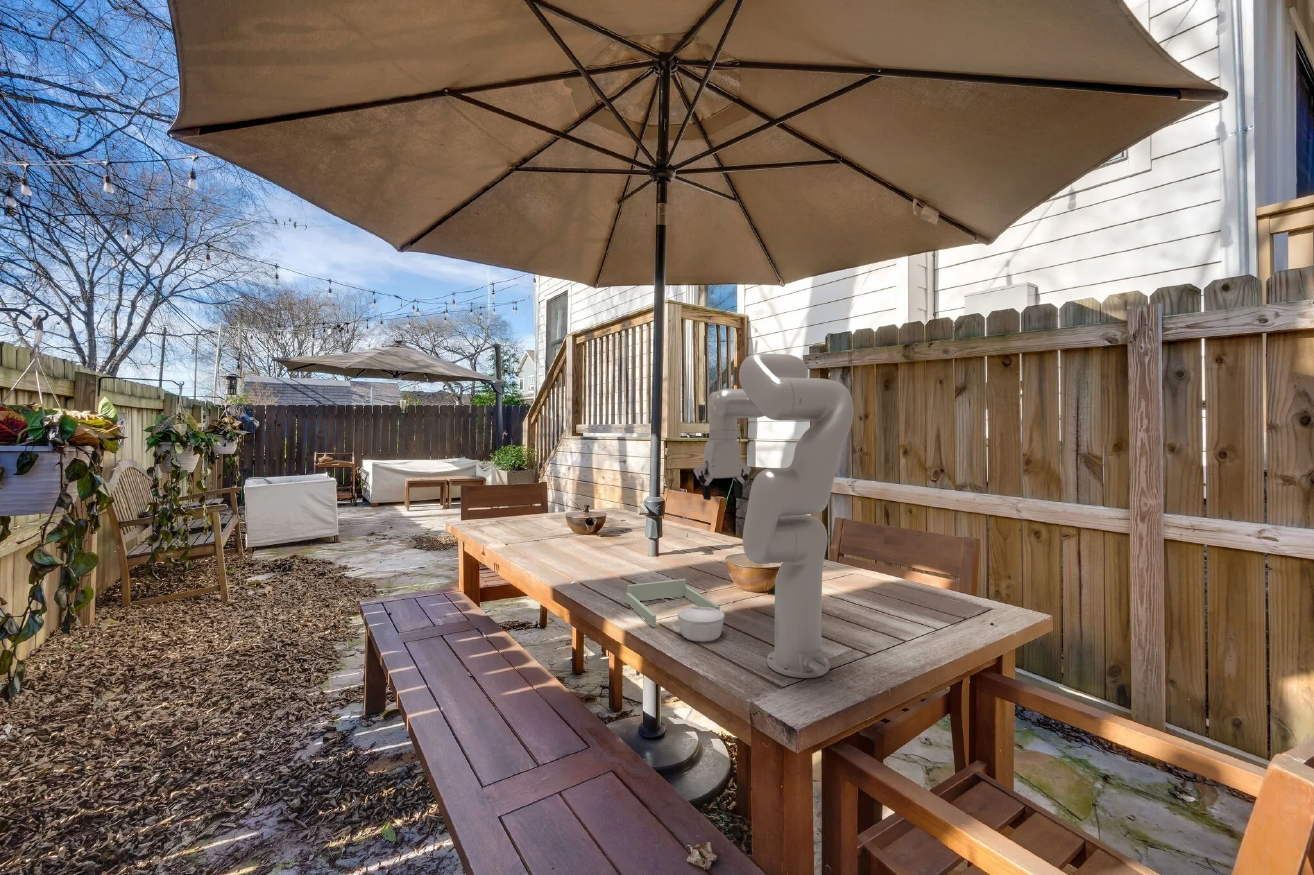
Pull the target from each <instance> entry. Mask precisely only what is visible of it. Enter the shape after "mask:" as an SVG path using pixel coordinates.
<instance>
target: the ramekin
mask: <svg viewBox="0 0 1314 875" xmlns="http://www.w3.org/2000/svg"><path fill="white" fill-rule="evenodd" d="M725 617H726V616H725V613H724V612H723V611H721V609H720V610H717V609H714V608H709V607H699V606H689V607H685V608H683V609H680V610H679V611H678V613H677V618H678V622H679V623H678V624H679V629H680V633H681V635H682V636H683V638H685V639H686V638H687V639H686V640H689V641H693V642H697V641H698V643H699V641H700V642H701V643H706V642H707V641H708V642H713V641H716V640H718V639H719V638H720V636H721V634H722V630H723V625H724V621H725ZM708 642H707V643H708Z"/></svg>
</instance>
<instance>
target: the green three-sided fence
mask: <svg viewBox="0 0 1314 875" xmlns="http://www.w3.org/2000/svg"><path fill="white" fill-rule="evenodd" d="M681 596H685V597H684V598H686V597H687V598H688V599H687V598H686V599H687V600H689V601H690V600H691V601H692V602H691V601H690V602H691V603H693V602H694V603H695V604H694V603H693V604H694V605H695V606H696V607H709V608H714V609H717V610H720V611H721V609H720V608H721V607H720V605H718V604H716V603H714V602H713V601H712V600H710V599H708V598H707V597H705V596H704V595H702V594H701V593H699V592H697V591H696V590H694V589H692V588H691V587H690V586H688V585H687V579H686V578H680V579H672V580H671V579H670V580H662V581H653V582H647V583H646V582H644V583H635V584H628V585H627V584H626V591H625V603H626V602H627V603H628V604H629V605H630V606H631V607H632V608H633V609H634V610H635V611H636V612H637V613H638V614H639V615H640V616H642V617H643V618H644V619H645V620H646V621H647V622H648V623H649V624H650V625H651V626H652V627H654V628H656V627H657V615H656V614H655V613H654V612H653V611H652V610H651V609H650V608H648V606H646V605H644V604H643V602H640V600H653V599H657V598H669V597H679V598H682V597H681ZM632 608H631V609H632ZM633 609H632V610H633ZM634 610H633V611H634ZM635 611H634V612H635ZM636 612H635V613H636ZM637 613H636V614H637ZM638 614H637V615H638ZM639 615H638V616H639ZM640 616H639V617H640ZM647 622H646V623H647ZM648 623H647V624H648ZM649 624H648V625H649ZM650 625H649V626H650ZM651 626H650V627H651ZM652 627H651V628H652Z"/></svg>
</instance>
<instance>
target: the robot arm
mask: <svg viewBox="0 0 1314 875" xmlns="http://www.w3.org/2000/svg"><path fill="white" fill-rule="evenodd" d="M738 372H739V373H738V379H739V380H738V381H739V384H740V387H741V388H723V389H720V390H718V391H713V392H711V393H710V395H709V398H708V399H709V401H708V402H709V403H708V404H709V409H708V410H709V416H708V417H709V419H708V421H709V427H708V428H709V430H708V432H709V433H708V441H706V443H705V446H704V453H703V463H702V464H700V465H699V466H697V467H695V468H694V469H693V473H694V474H695V476H696V479H697V481H698V482H699V483H700V485H701V486H702V487H701V488H702V492H701V495H702V499H703V500H706V501H711V500H712V486H711V485H710V483H711V482H712V481H713V479H729V478H730V479H731V478H733V480H734V481H735V482H734V484H733V491H734V492H733V497H734V498H735V499H740V500H741V499H743V495H744V494H743V492H744V490H743V489H744V488H743V487H744V484H745V483H746V482H745V481H747V479H748V478H749V475H750V473H751V471H752V467H751V466H749V465H747V464H745V463H744V462H742V452H741V445H740V442H739V441H738V438H740V437H741V432H740V431H739V432H738V419H741V418H744V419H745V418H747V419H750V418H751V419H756V418H763V417H765V418H767V419H770V420H773V421H780V422H781V421H784V422H786V421H787V422H790V421H791V422H794V421H795V422H799V421H800V422H801V421H802V422H803V421H809V422H811V421H812V422H813V423H812V424H811V426H810V427H808V429H807V430H806V431H804V432H803V434H802V435H801V437H800V438H799V440H798V442H797V443H796V445H795V448H794V453H793V458H792V461H791V464H790V465H789V466H788V467H771V468H766V469H763V470H762V471H760V472H759V473H757V474H756V476H755V477H754V479H753V481H752V483H751V486H750V487H751V488H750V491H749V497H748V502H747V507H746V513H745V519H744V525H743V531H742V548H743V552H744V554H745V556H746V558H747V559H748V560H749V561H751V562H752V563H754V564H761V565H763V564H769V563H781V562H783V563H782V564H781V566H780V568H779V570H778V573H777V575H776V579H775V595H774V650H773V651H770V652H769V653H768V654H767V657H766V663H767V666H768V667H769V668H771V669H772V670H773V671H775V672H776V673H779V674H780V675H784V676H786V677H791V678H796V679H797V678H798V679H800V678H801V679H812V678H818V677H819V678H820V677H822V676H824V675H826V674H827V673H828V672H829V670H830V669H831V666H832V665H831V663H830V662H829V660H828V659H827V657H825V651H824V650H823V649H822V638H823V636H822V634H823V633H822V630H823V629H822V625H823V624H822V617H823V615H822V614H823V613H822V612H823V611H822V610H823V608H822V607H823V606H822V604H823V603H822V602H823V600H822V598H823V597H822V596H823V595H822V593H823V572H824V571H823V569H824V562H825V556H826V551H827V546H828V533H827V528H826V526H825V524H824V523H823V522H822V521H821V520H820V519H819V518H817V517H815V516H813V514H815V515H816V514H819V513H821V512H823V511H824V510H826V508H827V506H828V504H829V501H830V498H831V493H832V490H833V485H834V482H835V476H836V474H837V473H836V472H837V469H838V464H839V459H840V456H841V452H842V450H843V447H844V444H845V442H846V440H847V438H848V435H849V433H850V430H851V428H852V423H853V420H854V412H855V411H854V403H853V400H854V399H853V397H852V394H851V392H850V391H849V389H848V387H846V386H845V385H844V384H843V383H841V382H838V381H836V380H833V379H827V378H817V377H816V378H815V377H813V378H812V377H809V370H808V366H807V365H806V363H805V362H804V361H803V360H802V359H801V358H800V357H798V356H796V355H792V354H783V353H760V352H759V353H752V354H750V355H748V356H747V357H746V358H744V360H743V361H742V363H741V364H740V367H739V371H738ZM742 471H743V472H742Z"/></svg>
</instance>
